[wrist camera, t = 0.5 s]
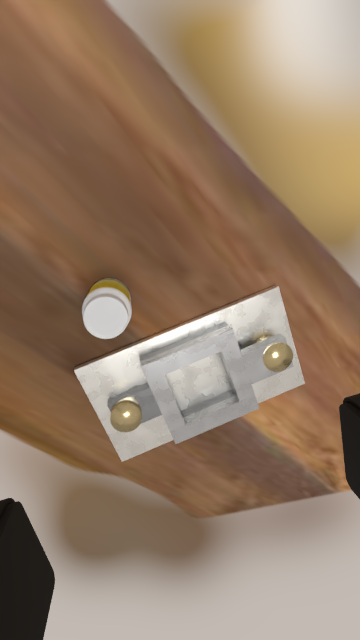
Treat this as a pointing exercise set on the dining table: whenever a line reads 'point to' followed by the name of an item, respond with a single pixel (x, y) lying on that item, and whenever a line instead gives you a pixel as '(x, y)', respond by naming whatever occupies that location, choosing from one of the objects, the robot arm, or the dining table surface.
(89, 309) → the supplement bottle
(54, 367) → the dining table surface
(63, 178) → the dining table surface
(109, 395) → the gray plate
